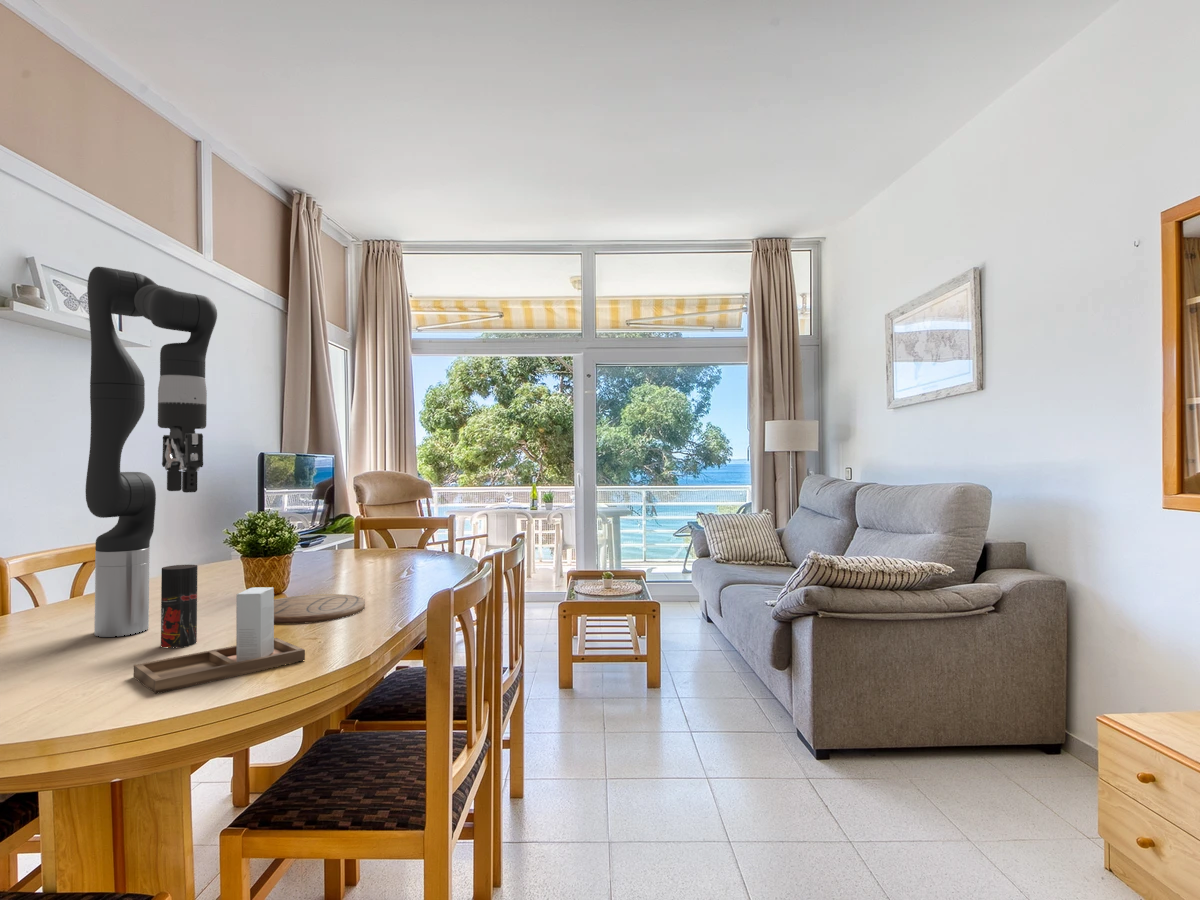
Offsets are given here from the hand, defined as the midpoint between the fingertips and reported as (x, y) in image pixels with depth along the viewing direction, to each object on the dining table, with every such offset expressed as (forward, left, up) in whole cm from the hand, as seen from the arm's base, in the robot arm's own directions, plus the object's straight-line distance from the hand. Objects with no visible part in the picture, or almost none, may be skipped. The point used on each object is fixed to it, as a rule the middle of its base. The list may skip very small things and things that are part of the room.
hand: (181, 491), depth 122 cm
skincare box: (+12, +8, -30) cm, 33 cm away
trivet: (-21, +33, -31) cm, 50 cm away
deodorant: (-11, +3, -30) cm, 32 cm away
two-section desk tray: (+12, +3, -30) cm, 33 cm away
